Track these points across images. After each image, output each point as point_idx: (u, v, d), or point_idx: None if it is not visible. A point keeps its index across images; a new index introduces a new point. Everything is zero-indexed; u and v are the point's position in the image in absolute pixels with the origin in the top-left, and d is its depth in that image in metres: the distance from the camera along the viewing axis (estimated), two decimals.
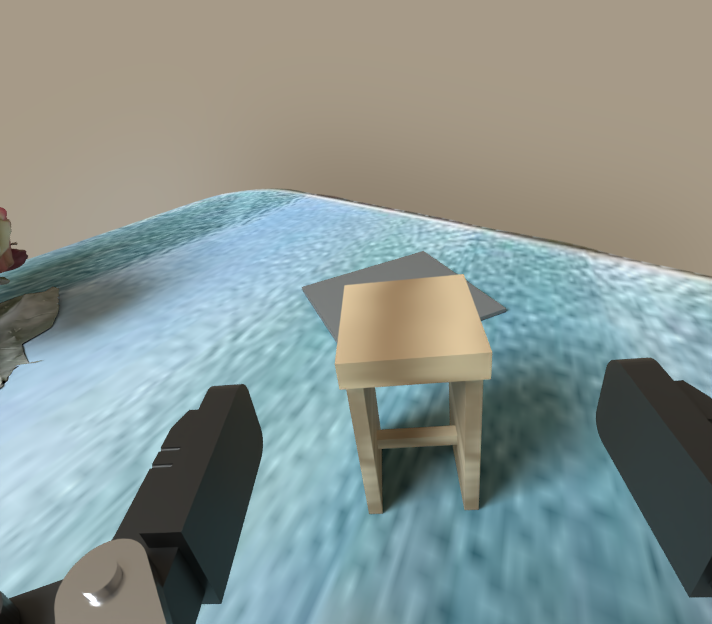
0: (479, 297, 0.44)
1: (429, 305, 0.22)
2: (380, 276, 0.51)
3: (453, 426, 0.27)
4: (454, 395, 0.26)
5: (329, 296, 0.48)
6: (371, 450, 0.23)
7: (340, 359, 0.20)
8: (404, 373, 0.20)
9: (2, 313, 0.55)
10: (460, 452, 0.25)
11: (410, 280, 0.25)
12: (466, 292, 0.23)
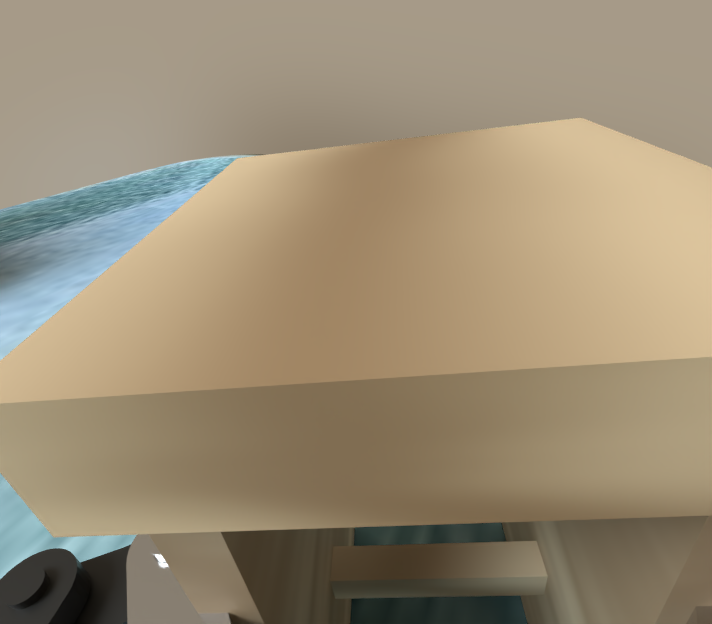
0: None
1: (499, 170, 0.06)
2: None
3: (532, 544, 0.10)
4: None
5: None
6: None
7: (10, 375, 0.03)
8: (406, 467, 0.03)
9: None
10: None
11: (423, 137, 0.09)
12: (620, 138, 0.07)
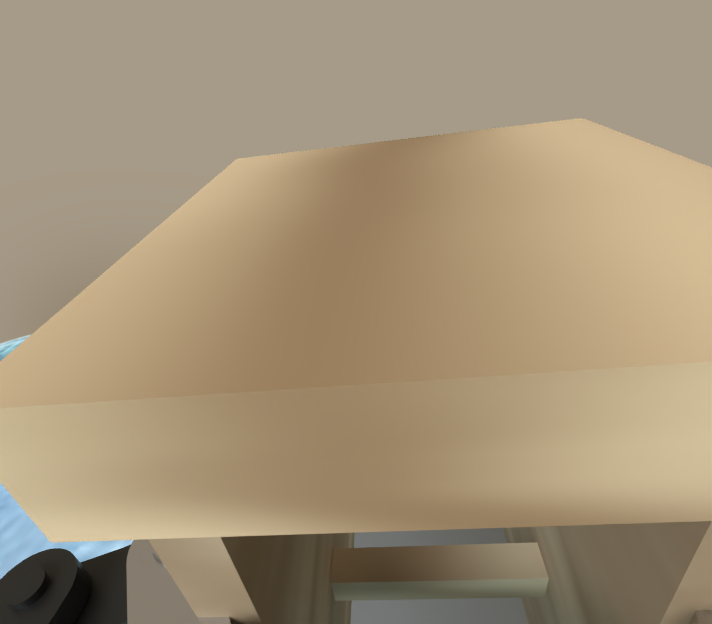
0: None
1: (500, 171, 0.06)
2: None
3: (533, 546, 0.10)
4: None
5: None
6: None
7: (6, 379, 0.03)
8: (408, 472, 0.03)
9: None
10: None
11: (424, 138, 0.08)
12: (622, 139, 0.07)
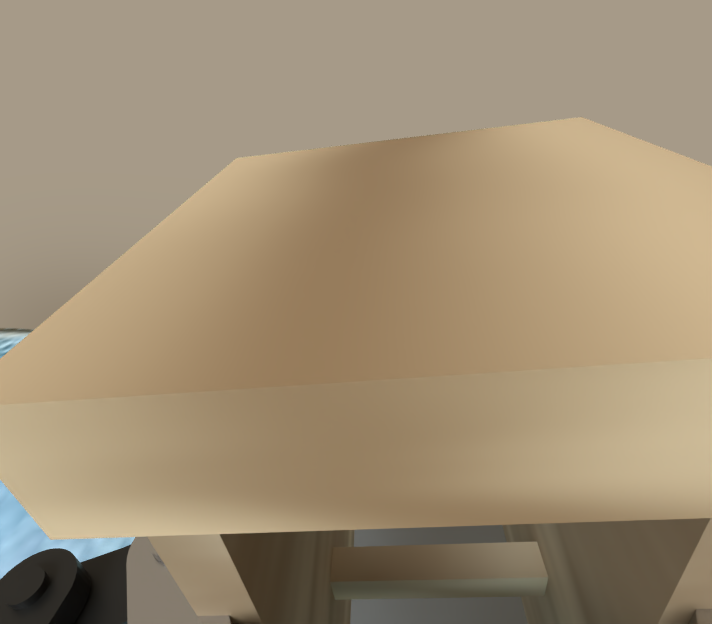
0: None
1: (499, 170, 0.06)
2: None
3: (532, 545, 0.10)
4: None
5: None
6: None
7: (6, 376, 0.03)
8: (406, 469, 0.03)
9: None
10: None
11: (423, 137, 0.08)
12: (621, 138, 0.07)
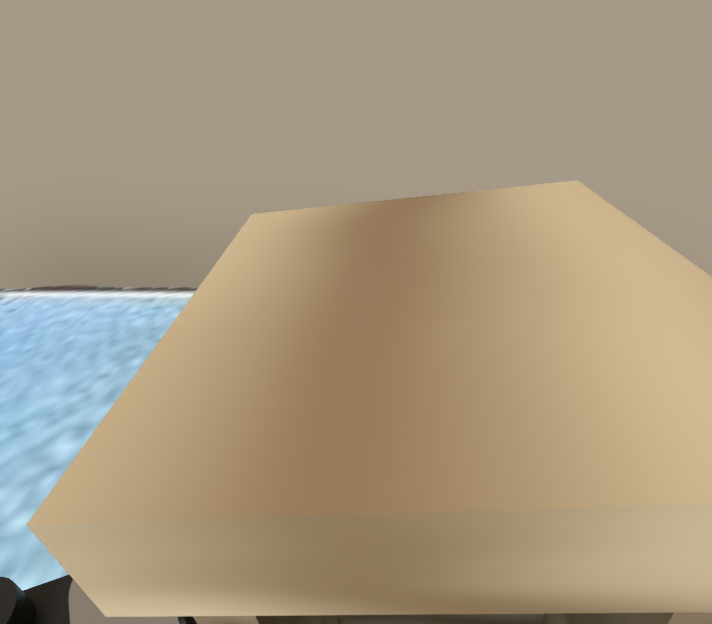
0: None
1: (499, 251, 0.07)
2: None
3: None
4: None
5: None
6: None
7: (76, 490, 0.04)
8: (416, 573, 0.04)
9: None
10: None
11: (428, 198, 0.09)
12: (611, 215, 0.07)
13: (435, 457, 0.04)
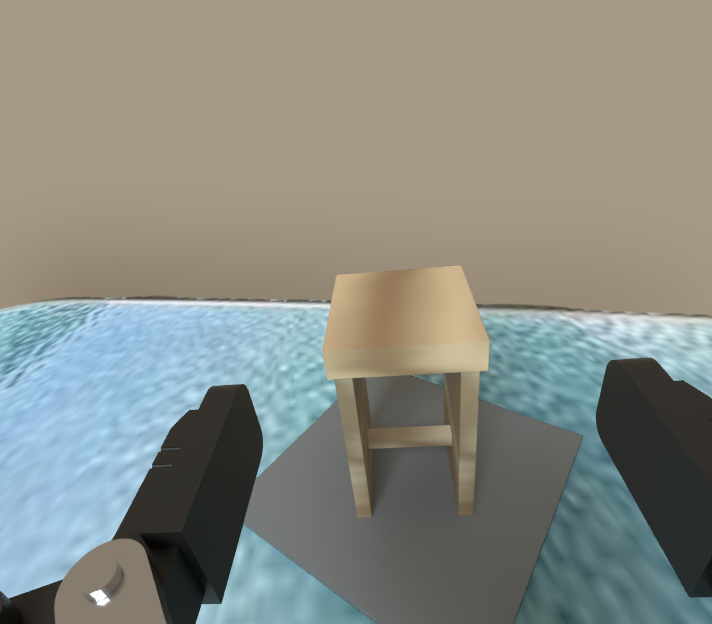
0: (530, 427, 0.29)
1: (424, 294, 0.21)
2: None
3: (448, 426, 0.25)
4: (449, 393, 0.24)
5: (297, 512, 0.25)
6: (360, 447, 0.22)
7: (328, 346, 0.18)
8: (396, 362, 0.18)
9: None
10: (454, 453, 0.24)
11: (405, 271, 0.24)
12: (463, 282, 0.22)
13: (400, 339, 0.18)
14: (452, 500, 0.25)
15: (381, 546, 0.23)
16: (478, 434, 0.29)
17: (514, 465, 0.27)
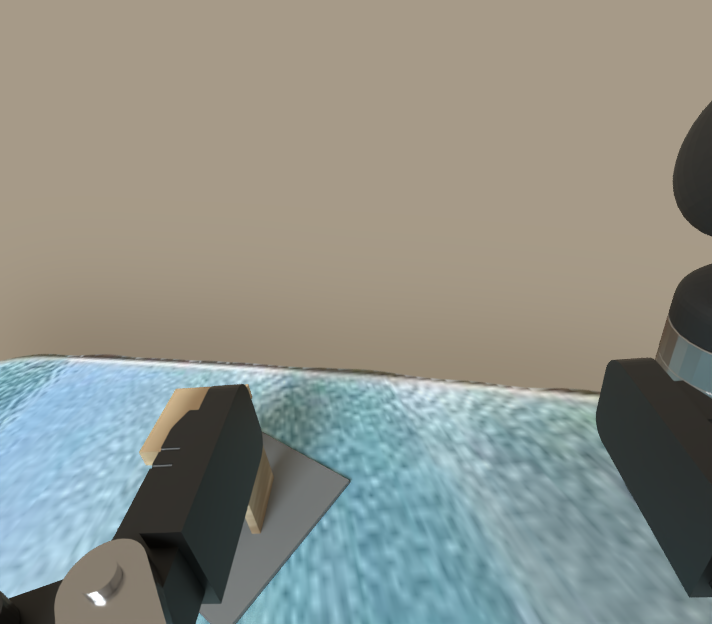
0: (320, 473, 0.45)
1: None
2: None
3: None
4: None
5: None
6: None
7: (143, 449, 0.34)
8: None
9: None
10: None
11: None
12: None
13: None
14: None
15: None
16: (286, 478, 0.45)
17: (298, 501, 0.42)
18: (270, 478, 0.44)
